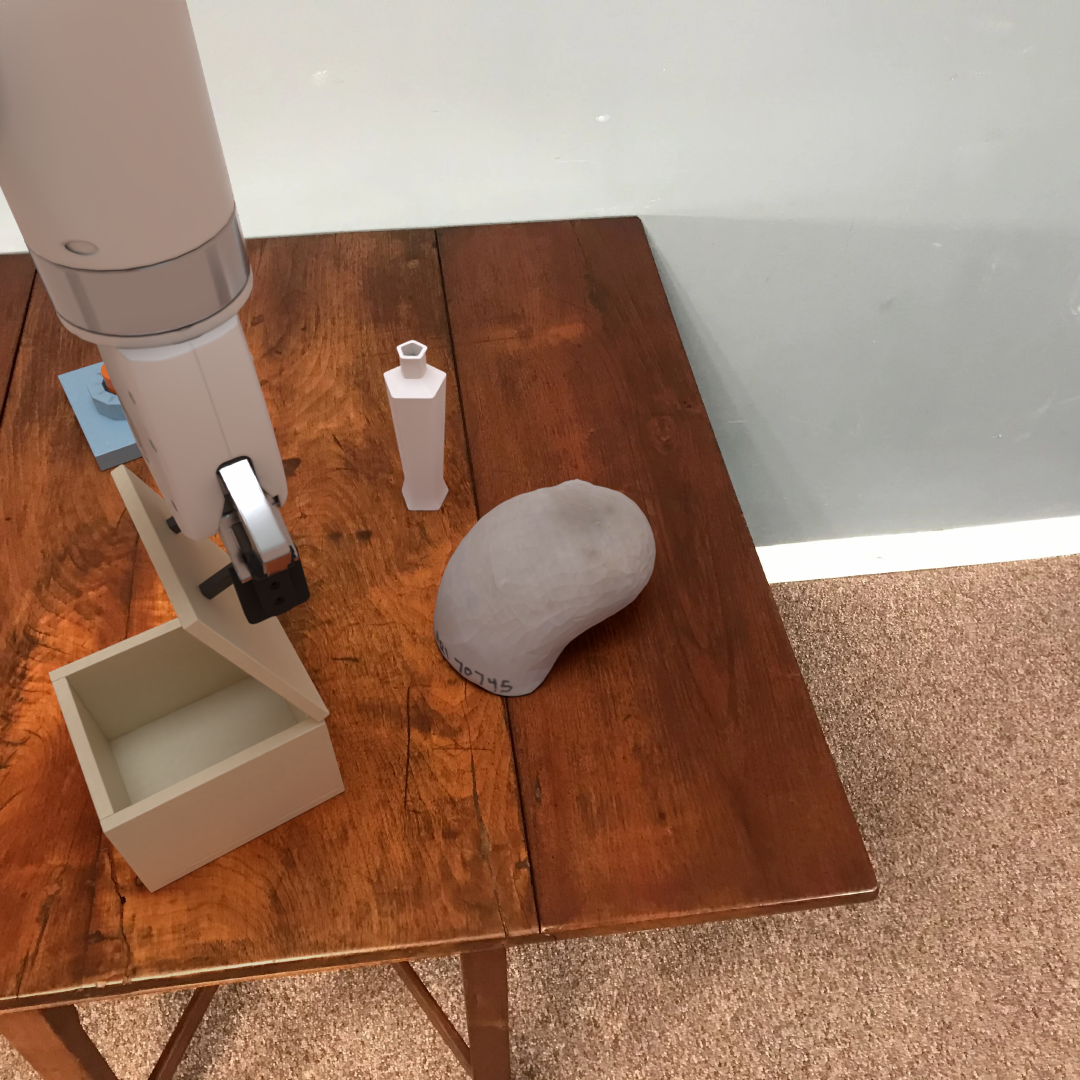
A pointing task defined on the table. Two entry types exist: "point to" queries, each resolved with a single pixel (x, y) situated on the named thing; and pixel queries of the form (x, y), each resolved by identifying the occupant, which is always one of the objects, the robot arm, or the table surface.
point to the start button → (107, 380)
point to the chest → (188, 751)
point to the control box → (100, 416)
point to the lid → (215, 596)
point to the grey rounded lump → (539, 581)
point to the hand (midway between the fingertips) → (243, 544)
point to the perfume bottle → (419, 425)
